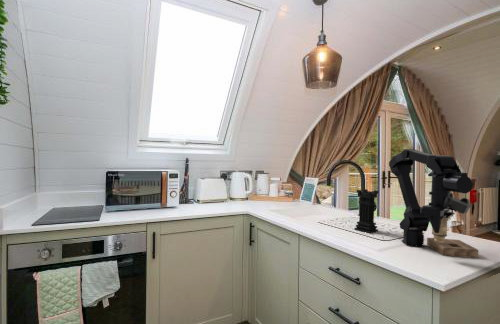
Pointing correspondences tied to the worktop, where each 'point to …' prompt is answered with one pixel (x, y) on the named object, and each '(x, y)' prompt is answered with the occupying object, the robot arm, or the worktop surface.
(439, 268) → the worktop surface
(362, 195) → the chess piece
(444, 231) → the oak peg
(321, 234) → the worktop surface
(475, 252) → the walnut block
